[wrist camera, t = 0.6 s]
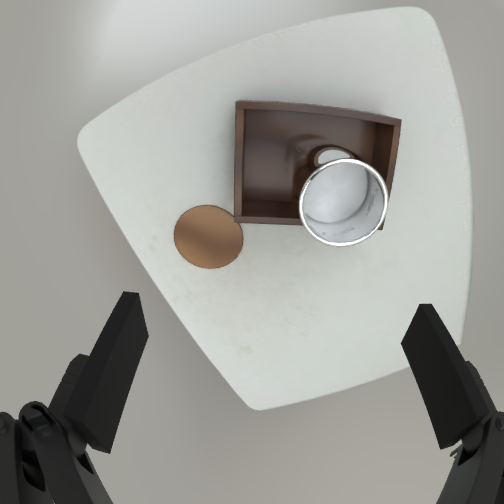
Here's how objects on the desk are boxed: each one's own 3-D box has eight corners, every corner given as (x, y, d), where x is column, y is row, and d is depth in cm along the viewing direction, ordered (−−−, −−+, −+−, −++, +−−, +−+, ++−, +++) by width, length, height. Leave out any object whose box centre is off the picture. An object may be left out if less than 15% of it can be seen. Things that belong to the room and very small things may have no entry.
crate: (239, 100, 30) (235, 101, 25) (382, 114, 30) (401, 119, 25) (237, 204, 36) (233, 222, 31) (367, 211, 36) (382, 230, 31)
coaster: (171, 204, 36) (171, 206, 36) (243, 206, 36) (243, 207, 36) (177, 265, 41) (177, 267, 40) (242, 268, 41) (242, 270, 40)
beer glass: (338, 127, 31) (393, 154, 18) (340, 184, 34) (388, 245, 21) (277, 131, 31) (291, 159, 18) (283, 189, 35) (298, 254, 22)
